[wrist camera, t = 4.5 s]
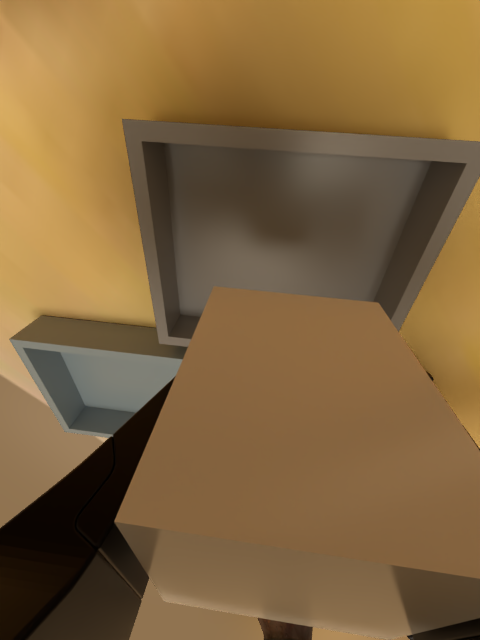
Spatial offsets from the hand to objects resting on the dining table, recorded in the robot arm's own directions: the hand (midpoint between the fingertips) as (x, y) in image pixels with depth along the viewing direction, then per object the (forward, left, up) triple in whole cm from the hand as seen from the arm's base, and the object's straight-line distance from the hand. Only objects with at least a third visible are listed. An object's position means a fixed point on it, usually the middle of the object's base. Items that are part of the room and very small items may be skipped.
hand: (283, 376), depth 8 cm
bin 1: (+13, +15, -12) cm, 23 cm away
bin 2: (0, 0, -12) cm, 12 cm away
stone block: (0, 0, -1) cm, 1 cm away
